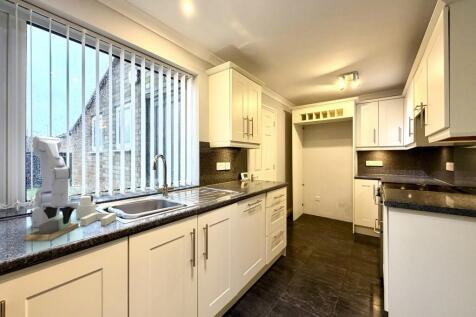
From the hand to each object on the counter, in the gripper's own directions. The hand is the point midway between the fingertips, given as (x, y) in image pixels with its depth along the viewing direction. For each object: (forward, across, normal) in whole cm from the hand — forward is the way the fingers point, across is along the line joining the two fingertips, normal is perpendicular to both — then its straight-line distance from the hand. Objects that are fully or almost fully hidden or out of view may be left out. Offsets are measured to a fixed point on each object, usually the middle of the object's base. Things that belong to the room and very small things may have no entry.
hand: (59, 223), depth 92 cm
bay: (+3, +10, +12) cm, 16 cm away
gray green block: (+2, 0, -2) cm, 3 cm away
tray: (+3, 0, -3) cm, 4 cm away
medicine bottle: (+3, -2, +22) cm, 22 cm away
